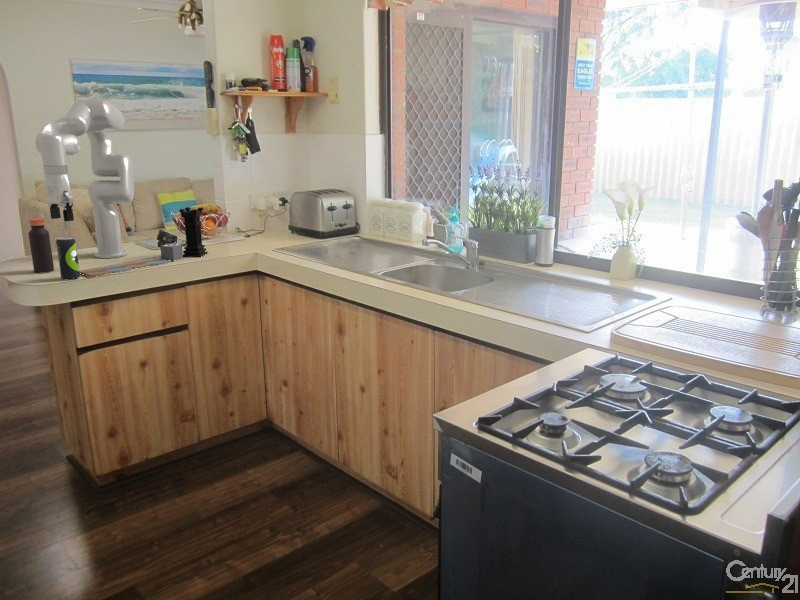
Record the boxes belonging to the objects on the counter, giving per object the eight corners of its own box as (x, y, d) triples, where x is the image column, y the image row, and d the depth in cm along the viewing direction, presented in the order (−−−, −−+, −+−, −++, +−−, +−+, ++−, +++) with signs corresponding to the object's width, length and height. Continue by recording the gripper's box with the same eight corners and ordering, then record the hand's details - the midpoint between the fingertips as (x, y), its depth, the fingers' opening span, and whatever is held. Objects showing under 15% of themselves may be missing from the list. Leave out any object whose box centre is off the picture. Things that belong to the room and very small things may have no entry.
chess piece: (207, 253, 279) (204, 207, 274) (200, 257, 272) (196, 210, 266) (190, 253, 280) (186, 207, 275) (182, 256, 272) (178, 209, 267)
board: (77, 273, 242) (77, 271, 242) (154, 259, 267) (154, 257, 266) (91, 277, 237) (90, 275, 236) (168, 263, 261) (168, 260, 260)
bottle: (31, 271, 246) (23, 219, 241) (50, 268, 251) (42, 217, 245) (38, 274, 242) (29, 221, 236) (57, 271, 246) (49, 219, 241)
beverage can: (58, 278, 236) (53, 237, 232) (76, 275, 240) (71, 235, 236) (64, 281, 231) (59, 240, 227) (82, 278, 236) (77, 237, 232)
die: (161, 260, 266) (160, 245, 264) (171, 257, 271) (169, 243, 269) (174, 261, 264) (172, 246, 262) (183, 258, 269) (181, 244, 268)
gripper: (33, 170, 227) (40, 218, 232) (56, 172, 217) (63, 223, 222) (55, 169, 233) (61, 216, 238) (78, 171, 223) (84, 220, 227)
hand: (62, 219), depth 230 cm, fingers open, 9 cm apart
